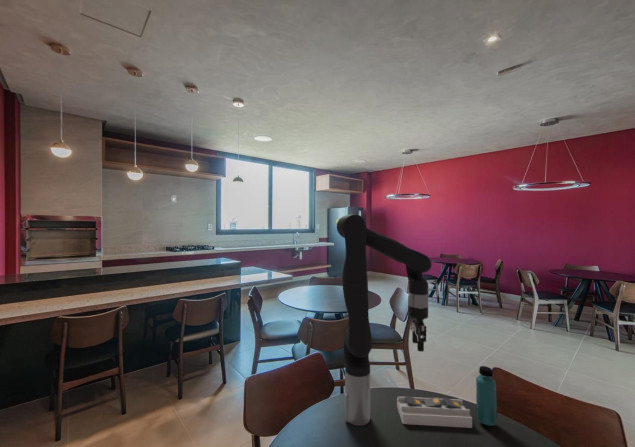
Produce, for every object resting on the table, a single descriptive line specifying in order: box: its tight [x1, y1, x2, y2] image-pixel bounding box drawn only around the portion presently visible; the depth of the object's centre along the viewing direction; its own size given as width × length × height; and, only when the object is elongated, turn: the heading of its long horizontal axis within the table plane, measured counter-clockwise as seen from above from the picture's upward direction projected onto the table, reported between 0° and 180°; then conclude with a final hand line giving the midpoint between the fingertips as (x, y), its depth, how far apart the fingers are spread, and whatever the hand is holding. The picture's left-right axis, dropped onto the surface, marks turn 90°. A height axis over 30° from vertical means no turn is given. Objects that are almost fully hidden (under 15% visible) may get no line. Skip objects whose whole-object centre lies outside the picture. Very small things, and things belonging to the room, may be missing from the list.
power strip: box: [396, 396, 473, 429], centre depth 106 cm, size 24×10×5 cm, turn 86°
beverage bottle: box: [475, 365, 498, 427], centre depth 102 cm, size 6×7×20 cm
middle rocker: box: [424, 396, 442, 408], centre depth 106 cm, size 5×4×1 cm
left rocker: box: [404, 395, 422, 407], centre depth 107 cm, size 5×4×1 cm
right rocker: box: [442, 396, 462, 409], centre depth 106 cm, size 5×4×1 cm
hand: (417, 346), depth 112 cm, fingers open, 7 cm apart
